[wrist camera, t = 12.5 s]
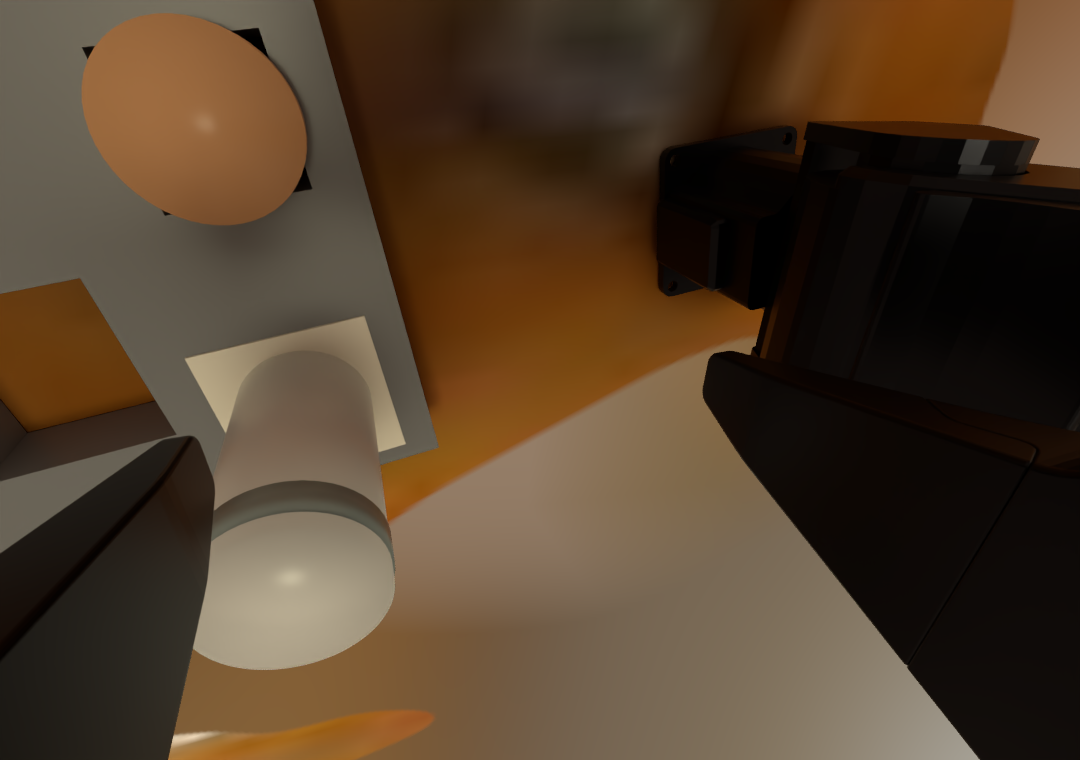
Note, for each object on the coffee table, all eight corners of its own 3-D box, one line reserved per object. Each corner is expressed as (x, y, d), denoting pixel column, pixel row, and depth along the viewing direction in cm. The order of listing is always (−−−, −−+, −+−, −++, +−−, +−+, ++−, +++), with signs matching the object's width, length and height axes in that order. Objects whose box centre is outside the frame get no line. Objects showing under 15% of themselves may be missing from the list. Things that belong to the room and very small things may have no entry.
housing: (303, -32, 15) (298, -53, 13) (427, 409, 24) (439, 448, 21) (-374, 28, 12) (-562, 15, 9) (51, 515, 21) (12, 577, 18)
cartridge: (272, 326, 17) (232, 501, 10) (396, 382, 19) (433, 554, 12) (210, 432, 18) (134, 659, 11) (335, 473, 20) (338, 680, 13)
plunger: (278, 17, 15) (265, 2, 12) (330, 185, 18) (330, 206, 15) (95, 36, 14) (33, 25, 11) (179, 212, 17) (146, 241, 14)
